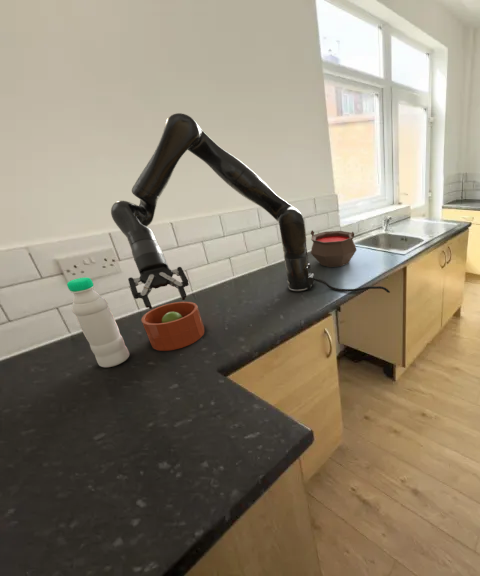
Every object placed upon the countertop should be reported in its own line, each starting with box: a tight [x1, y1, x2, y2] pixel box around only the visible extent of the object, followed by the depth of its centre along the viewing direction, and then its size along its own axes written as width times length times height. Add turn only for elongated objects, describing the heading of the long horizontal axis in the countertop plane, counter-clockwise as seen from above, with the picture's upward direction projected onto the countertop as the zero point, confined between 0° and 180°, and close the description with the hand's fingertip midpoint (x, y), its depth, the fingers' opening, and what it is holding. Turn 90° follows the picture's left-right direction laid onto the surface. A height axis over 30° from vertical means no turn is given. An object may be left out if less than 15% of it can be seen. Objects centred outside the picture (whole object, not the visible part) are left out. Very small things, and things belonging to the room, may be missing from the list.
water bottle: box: [66, 276, 130, 368], centre depth 85 cm, size 7×7×25 cm
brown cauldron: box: [310, 229, 357, 268], centre depth 158 cm, size 24×24×16 cm
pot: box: [140, 301, 205, 352], centre depth 99 cm, size 15×15×9 cm
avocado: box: [162, 312, 183, 323], centre depth 99 cm, size 6×6×8 cm
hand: (167, 303), depth 95 cm, fingers open, 8 cm apart
